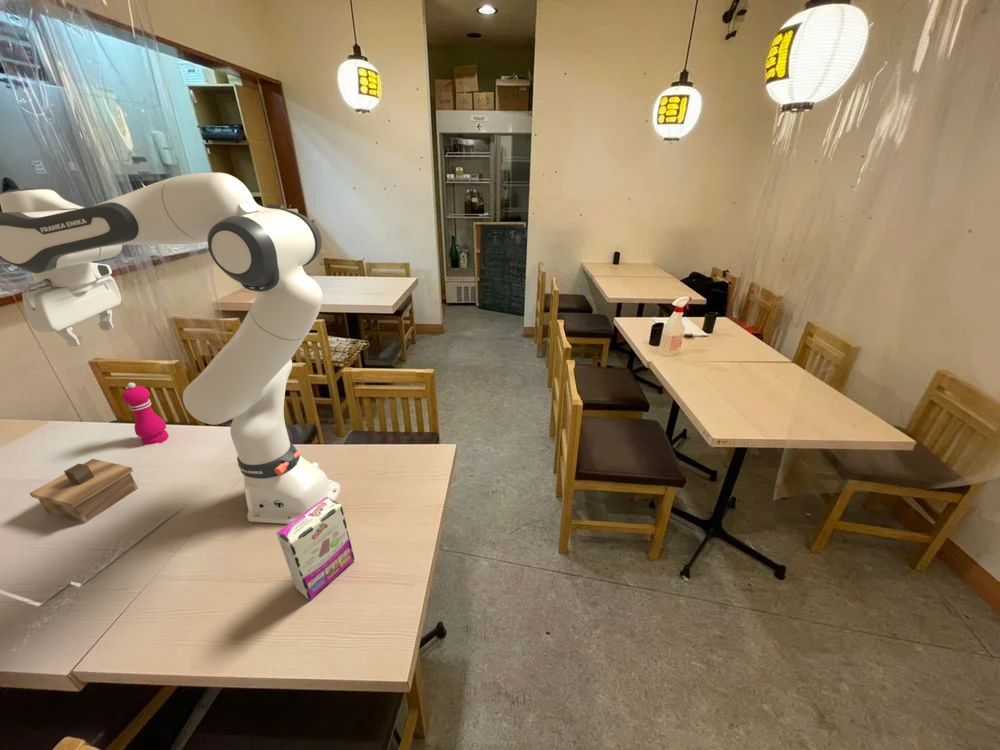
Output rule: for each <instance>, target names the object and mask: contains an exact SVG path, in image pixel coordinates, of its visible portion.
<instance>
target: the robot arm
mask: <svg viewBox="0 0 1000 750" xmlns="http://www.w3.org/2000/svg"><path fill="white" fill-rule="evenodd" d="M0 209H1V212H0V259H1V260H2V261H4V262H6V263H9V264H11V266H14V267H16V268H18V269H21V270H24V271H26V272H29V273H30V274H31V276H32V277H33V280H34V281H35V283H29V284H26V285H25V286H24V289H23V291H22V293H21V296H22V305H23V308H24V311H25V314H26V316H27V319H28V321H29V324H30V326H31V327H32V329H33V330H35V331H37V332H39V333H56V334H57V335H58V336H59V337H62V338H63V339H65V341H66V342H67V345H68V346H69V347H79V346H80V345H82V344H84V341H83V340H82V337H81V335H76V334H74V332H73V331H74V330H73V327H72V326H73V325H76V324H78V323H81V322H83V321H85V320H87V319H90V318H92V317H94V316H97V315H99V320H100V321H99V322H98V326H99V328H100V330H102V331H109V330H113V329H114V327H115V326H114V324H113V322H112V321H113V320H112V319H113V318H112V317H113V310H112V308H114V307H117V306H119V305H121V303H122V294H121V292H120V289H119V287H118V284H117V282H116V280H115V279H114V277H113V276H112V272H113V271H112V268H111V266H110V265H109V264H105V263H104V264H103V263H97V261H103V260H107V259H112V258H114V257H117V256H119V255H121V253H122V252H123V250H124V247H125V246H134V245H135V246H137V245H138V246H140V245H142V246H144V245H146V246H147V245H190V244H199V243H205V242H207V247H208V252H209V253H210V256H211V257H212V259H213V261H214V262H215V264H216V265H217V267H219V268H220V270H221V271H222V272H223V273H224V274H226V275H227V276H228V277H230V278H231V279H232V280H234V281H236V282H238V283H240V285H241V286H243V288H245V289H247V290H249V291H253V292H258V294H257V296H256V298H255V300H254V301H253V303H252V305H251V307H250V308H249V310H248V312H247V314H246V315H245V317H244V319H243V320H242V323H241V324H240V325H239V328H238V329H237V331H236V332H235V334H234V335H233V336H232V337H231V338H230V340H229V341H228V342H226V344H225V345H224V346H222V348H221V349H220V350H219V351H218V353H217V354H216V355H215V356H214V357H213V358H212V359H211V361H210V362H209V363H208V364H207V365H206V367H205V368H204V369H203V370H202V372H200V374H198V376H196V378H195V379H194V380H192V381H191V382H190V383H189V385H187V386H186V387H185V389H183V393H182V401H183V404H184V407H185V409H186V411H187V412H188V413H189V414H190V416H192V417H193V418H194V419H196V420H197V421H200V422H202V423H203V424H208V425H221V424H223V423H226V422H228V421H231V420H232V422H231V425H230V432H229V433H230V437H231V441H232V443H233V446H234V449H235V451H236V454H237V458H236V460H237V465H238V468H239V470H240V472H241V475H243V481H244V493H245V494H244V495H245V500H246V508H247V510H248V511H247V515H246V518H247V521H248V522H251V523H269V524H284V525H288V524H289V523H290V522H292V521H293V520H295V519H296V518H297V517H299V516H300V515H302V514H303V513H304V512H306V511H307V510H309V509H310V508H311V507H313V506H314V505H315V504H317V503H318V502H320V501H321V500H322V499H324V498H325V497H329V498H331V500H333V501H335V502H336V500H337V498H338V496H339V494H340V492H341V485H340V483H339V482H336V481H334V480H332V479H330V478H328V476H327V474H326V473H325V472H324V470H322V469H321V468H320V465H319V464H318V462H314V461H313V462H312V463H311V462H310V461H309V460H307V459H305V458H304V457H303V456H301V454H302V453H303V452H302V449H301V448H300V449H298V450H297V449H296V447H295V445H294V444H293V442H292V441H291V440H290V438H289V434H288V431H287V430H288V429H287V427H286V421H285V410H284V409H285V408H284V407H285V396H286V389H287V382H288V380H289V376H290V375H291V372H292V369H293V362H292V359H293V356H294V354H296V352H297V350H298V349H299V347H300V346H301V345H302V343H303V342H304V340H305V339H306V337H307V336H308V334H309V332H310V331H311V329H312V327H313V326H314V324H315V321H316V320H317V317H318V316H319V313H320V311H321V308H322V305H323V302H324V294H323V290H322V288H321V286H320V284H319V283H318V282H317V281H316V280H315V279H314V278H313V277H311V276H309V275H307V273H306V272H305V271H304V268H303V267H305V266H307V265H309V264H311V263H312V262H313V261H315V259H316V258H317V257H318V256H319V254H320V252H321V249H322V247H323V240H322V235H321V232H320V229H318V226H317V225H316V224H315V222H313V221H312V220H311V219H310V218H308V217H307V216H305V215H303V214H302V213H299V212H296V211H293V210H290V209H286V208H283V207H281V206H278V205H276V204H273V203H270V204H268V205H266V206H265V207H264V206H262V205H260V204H259V203H257V202H256V201H255V199H254V197H253V195H252V193H251V191H250V190H249V189H248V187H247V186H246V185H245V184H244V182H242V181H241V180H239V179H238V178H237V177H235V176H233V175H231V174H229V173H225V172H213V171H212V172H195V173H187V174H181V175H177V176H172V177H169V178H166V179H162V180H159V181H156V182H154V183H151V184H149V185H146V186H143V187H139V188H137V189H135V190H132V191H130V192H128V193H124V194H122V195H120V196H116V197H114V198H113V197H112V198H111V199H108V200H105V201H102V202H100V203H96V204H94V205H90V206H87V207H85V206H81V205H78V204H76V203H73V202H71V201H68V200H67V199H64V198H63V197H62V196H60V194H58V192H56V191H55V190H52V189H51V188H46V187H45V188H44V187H27V188H25V187H24V188H15V189H9V190H5V191H3V192H2V193H1V194H0Z"/></svg>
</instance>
